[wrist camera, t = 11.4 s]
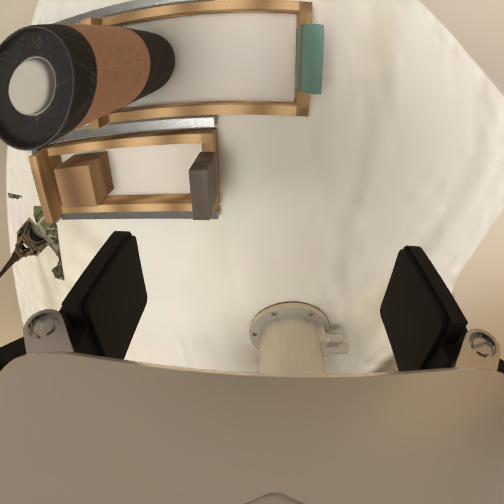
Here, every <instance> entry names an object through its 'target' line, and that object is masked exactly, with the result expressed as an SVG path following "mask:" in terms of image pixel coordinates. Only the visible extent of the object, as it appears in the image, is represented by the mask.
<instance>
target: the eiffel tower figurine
mask: <svg viewBox="0 0 504 504" xmlns="http://www.w3.org/2000/svg"><path fill="white" fill-rule="evenodd" d="M8 196H9V198H16V199H18V198H20V197H21V198H22V196H20V195H14V194H9V193H8ZM34 217H35V220H36V224H37V225H36V224H35V223H34V222H33V221H32V219H31V218H30V217H29V219H28V220H27V221H26V222H25V223H24V225H23V226H22V227H21V228H20V229H19V231H18V232H17V243H16V244H15V246H16V248H15V250H14V252H13V253H12V256H11V258H10V259H9V261H8V262H7V264H6V265H5V266H4V268H3V269H2V271H1V272H0V277H1V276H2V275H3V274H4V273H5V272H6V271H7V270H8V269H9V268H10V266H12V265H13V264H14V263H15V262H16V261H19V260H20V259H21V258H22V257H24V256H25V257H27V256H29V255H36V256H37V255H38V254H39V253H40V252H41V251H42V250H43V249H44V248H45V247H46V246H47V245H49V246H50V247H51V248H52V249H53V251H54V252H55V253H56V255H57V256H58V258H59V262H58V265H57V266H56V267H54V268H53V269H52V272H53V273H54V276H55V278H58V279H61V280H64V277H63V270H62V262H61V256H60V249H59V241H58V232H57V225H56V223H46V220H45V217H44V214H43V210H42V207H41V206H34ZM23 243H25V245H26V246H28V248H26V247H25V246H24V245H23Z"/></svg>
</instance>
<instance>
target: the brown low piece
mask: <svg viewBox="0 0 504 504" xmlns="http://www.w3.org/2000/svg"><path fill="white" fill-rule="evenodd" d="M232 12H273V13H294V14H297V29H296V70H295V99H294V103H291V102H263V101H222V102H195V103H178V104H165V105H153V106H143V107H134V108H126V109H118V110H115V111H113V112H111V113H109V114H107V115H104V116H102V117H100V118H98V119H96V120H94V121H92V122H90V123H88V124H89V130H92V129H99V128H101V127H102V126H104V125H106V124H108V123H111V122H119V121H128V120H137V119H147V118H159V117H173V116H191V115H221V114H261V115H290V116H308V111H309V93H312V94H321V86H322V66H323V38H324V25H319V24H312V2H302V1H287V0H220V1H205V2H194V3H184V4H176V5H168V6H162V7H155V8H149V9H144V10H138V11H133V12H128V13H124V14H119V15H115V16H111V17H107V18H103V19H101V18H92V17H90V18H87V19H83V20H80V24H86V25H106V26H123V25H128V24H133V23H138V22H144V21H150V20H156V19H163V18H170V17H178V16H187V15H198V14H211V13H232Z"/></svg>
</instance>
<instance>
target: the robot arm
mask: <svg viewBox="0 0 504 504" xmlns="http://www.w3.org/2000/svg"><path fill="white" fill-rule="evenodd" d="M146 303H147V292H146V288H145V283H144V278H143V273H142V268H141V263H140V257H139V252H138V246H137V240H136V237H135V236H132V234H131V233H130V232H127V231H114V232H113V233H112V235H111V236H110V237H109V238H108V240H107V241H106V242H105V244H104V245H103V246H102V248H101V249H100V250H99V252H98V253H97V254H96V256H95V257H94V258H93V260H92V261H91V262H90V264H89V265H88V266H87V268H86V269H85V271H84V272H83V273H82V275H81V276H80V278H79V279H78V280H77V282H76V283H75V285H74V286H73V288H72V289H71V291H70V292H69V293H68V295H67V296H66V298H65V299H64V301H63V302H62V307H61V309H60V310H59V312H58V311H56V310H53V309H46V310H42V311H39V312H37V313H35V314H33V315H32V316H31V317H30V318H29V319H28V320H27V322H26V323H25V325H24V328H23V334H24V337H22V338H20V339H18V340H15V341H13V342H11V343H9V344H7V345H5V346H3V347H0V504H504V361H503V360H501V359H500V358H499V357H500V346H499V344H498V342H497V341H496V339H495V338H494V337H493V336H492V335H491V334H490V333H488V332H487V331H484V330H482V329H471V330H469V331H468V330H467V328H466V325H467V323H468V322H467V320H466V318H465V317H464V315H463V313H462V311H461V310H460V308H459V306H458V305H457V303H456V301H455V299H454V298H453V296H452V294H451V293H450V291H449V289H448V288H447V286H446V285H445V283H444V281H443V280H442V278H441V277H440V275H439V274H438V272H437V270H436V269H435V267H434V266H433V264H432V263H431V261H430V260H429V258H428V257H427V255H426V254H425V252H424V251H423V249H422V248H421V247H419V246H405V247H404V248H403V249H401V250H400V251H399V253H398V256H397V259H396V262H395V266H394V269H393V272H392V275H391V278H390V281H389V284H388V287H387V290H386V293H385V296H384V299H383V301H382V304H381V308H380V315H381V318H382V321H383V324H384V326H385V329H386V332H387V335H388V338H389V341H390V344H391V347H392V350H393V353H394V356H395V360H396V363H397V366H398V369H399V371H398V372H382V373H360V374H326V372H325V364H324V356H328V354H329V353H336V354H345V353H347V352H348V343H347V342H343V341H344V335H343V334H329V330H330V328H329V322H328V320H327V318H326V316H325V315H324V314H323V313H322V312H321V311H320V310H319V309H317V308H315V307H313V306H310V305H307V304H302V303H282V304H278V305H274V306H271V307H269V308H267V309H265V310H263V311H262V312H260V313H259V314H258V315H257V316H256V317H255V318H254V320H253V321H252V324H251V326H250V338H251V341H252V343H253V344H254V346H255V347H256V348H257V349H259V373H249V372H232V371H218V370H206V369H195V368H185V367H176V366H167V365H159V364H151V363H144V362H137V361H129V360H124V358H125V355H126V352H127V350H128V347H129V345H130V342H131V340H132V337H133V335H134V332H135V330H136V328H137V325H138V323H139V320H140V318H141V316H142V313H143V311H144V308H145V306H146ZM329 342H336V343H329Z"/></svg>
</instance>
